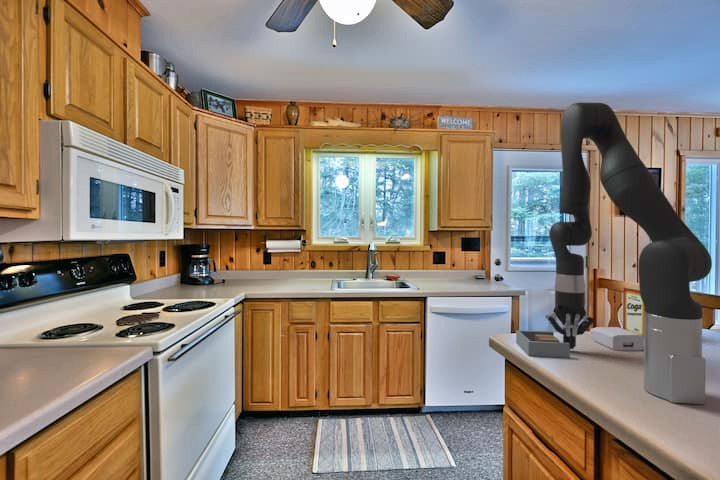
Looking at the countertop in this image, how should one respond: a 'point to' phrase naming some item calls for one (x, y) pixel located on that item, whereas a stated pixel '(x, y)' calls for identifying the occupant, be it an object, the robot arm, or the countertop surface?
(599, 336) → the charger
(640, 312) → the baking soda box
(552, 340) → the brown wooden block
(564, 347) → the box
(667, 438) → the countertop surface
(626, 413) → the countertop surface
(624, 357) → the countertop surface
